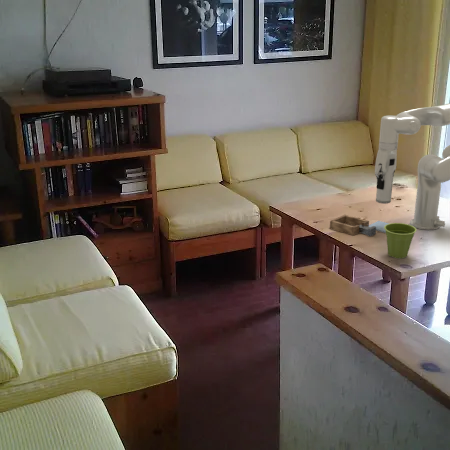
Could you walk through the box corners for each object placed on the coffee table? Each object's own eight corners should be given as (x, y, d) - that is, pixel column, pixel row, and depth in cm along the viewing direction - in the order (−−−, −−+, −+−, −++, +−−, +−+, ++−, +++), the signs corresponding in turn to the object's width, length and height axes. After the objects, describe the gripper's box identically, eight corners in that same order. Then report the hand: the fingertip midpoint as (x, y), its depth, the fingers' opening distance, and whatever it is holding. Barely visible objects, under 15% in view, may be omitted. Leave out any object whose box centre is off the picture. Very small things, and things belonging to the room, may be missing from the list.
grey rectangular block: (375, 233, 238) (376, 226, 237) (370, 236, 235) (370, 229, 234) (360, 229, 243) (361, 222, 242) (355, 232, 240) (355, 225, 239)
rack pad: (398, 227, 245) (398, 226, 245) (386, 233, 238) (387, 232, 238) (378, 221, 252) (378, 220, 251) (366, 227, 245) (366, 226, 245)
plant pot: (375, 252, 219) (377, 225, 215) (399, 247, 224) (402, 221, 220) (395, 263, 209) (398, 235, 205) (420, 258, 214) (423, 230, 210)
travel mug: (372, 200, 242) (376, 155, 235) (385, 198, 244) (389, 154, 237) (380, 204, 237) (384, 158, 230) (393, 202, 239) (398, 157, 232)
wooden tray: (368, 228, 244) (369, 221, 243) (354, 235, 236) (354, 227, 235) (344, 221, 252) (345, 214, 251) (329, 228, 245) (330, 220, 244)
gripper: (390, 141, 240) (387, 181, 247) (369, 147, 229) (365, 189, 235) (406, 143, 235) (402, 184, 242) (385, 150, 224) (381, 193, 230)
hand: (384, 186), depth 238 cm, fingers closed on travel mug, 6 cm apart
